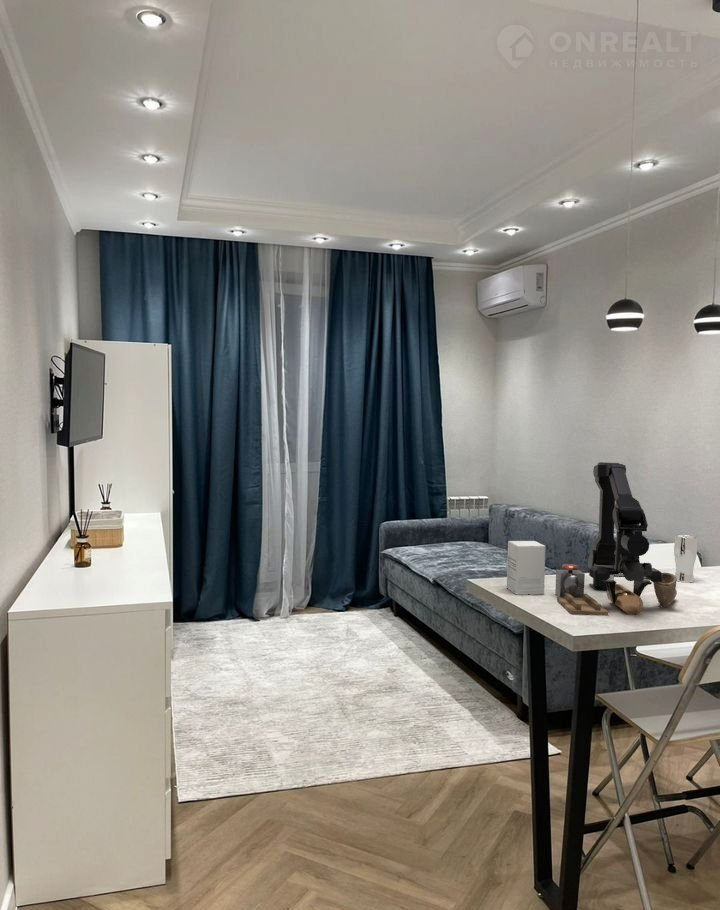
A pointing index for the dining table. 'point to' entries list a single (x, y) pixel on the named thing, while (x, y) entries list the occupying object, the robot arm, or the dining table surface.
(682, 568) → the beer glass
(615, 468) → the robot arm
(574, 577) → the valve block
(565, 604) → the pipe cradle
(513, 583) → the supplement box
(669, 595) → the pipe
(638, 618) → the dining table surface
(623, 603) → the tan rounded oblong piece
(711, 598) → the dining table surface
